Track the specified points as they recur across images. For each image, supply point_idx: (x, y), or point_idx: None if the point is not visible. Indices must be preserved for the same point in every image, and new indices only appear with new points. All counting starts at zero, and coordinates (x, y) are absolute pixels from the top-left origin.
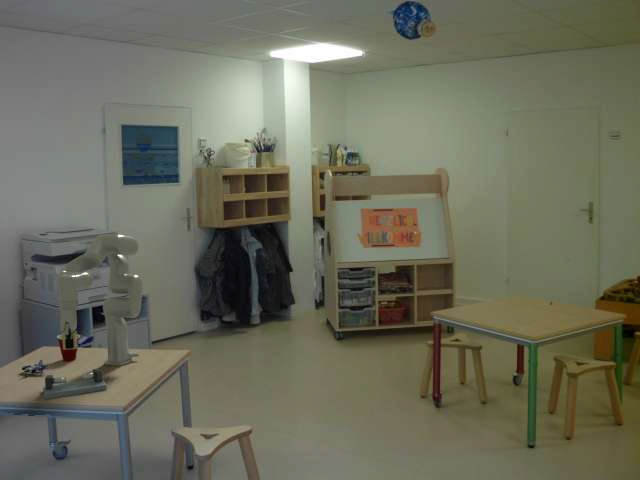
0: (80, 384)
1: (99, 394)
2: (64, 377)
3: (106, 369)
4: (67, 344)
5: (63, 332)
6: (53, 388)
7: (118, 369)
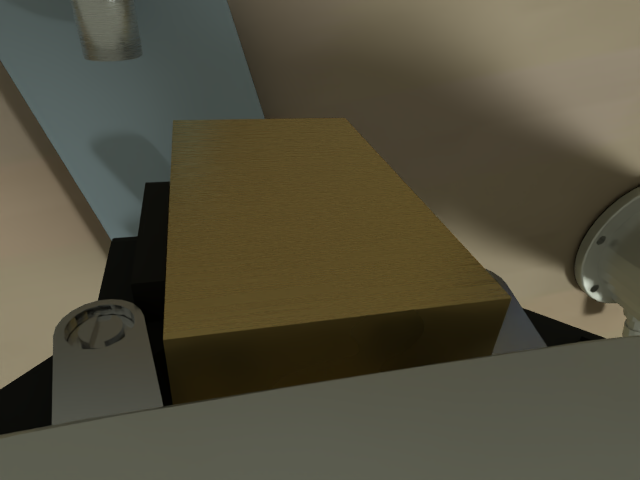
0: None
1: (55, 270)
2: (102, 51)
3: (545, 207)
4: (112, 266)
5: (283, 344)
6: None
7: (513, 265)
